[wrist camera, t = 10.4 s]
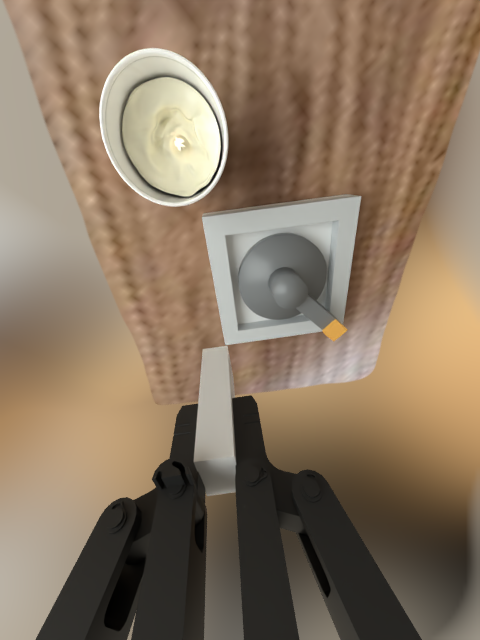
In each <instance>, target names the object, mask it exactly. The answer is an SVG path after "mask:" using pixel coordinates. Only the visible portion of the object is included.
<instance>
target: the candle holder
mask: <svg viewBox="0 0 480 640" xmlns="http://www.w3.org/2000/svg"><path fill="white" fill-rule="evenodd" d="M100 127H101V133H102V138H103V142H104V145H105V148H106V151H107V153H108V155H109V158H110V160H111V162H112V163H113V165H114V167H115V169H116V170H117V172H118V173H119V174H120V176H121V177H122V178H123V180H124V181H125V182H126V183H127V184H128V185H129V186H130V187H131V188H132V189H133V190H134V191H136V192H137V193H138V194H140V195H141V196H143V197H144V198H146V199H148V200H150V201H152V202H154V203H157V204H160V205H164V206H172V207H178V206H185V205H189V204H192V203H195V202H197V201H199V200H200V199H202V198H203V197H205V196H206V195H207V194H208V193H209V192H210V191H211V190H212V189H213V188H214V187H215V185H216V184H217V182H218V181H219V179H220V177H221V175H222V173H223V170H224V167H225V164H226V160H227V155H228V142H229V140H228V127H227V121H226V117H225V113H224V110H223V107H222V104H221V102H220V99H219V97H218V95H217V93H216V91H215V89H214V88H213V86H212V85H211V83H210V82H209V80H208V79H207V78H206V76H205V75H204V74H203V73H202V72H201V71H200V70H199V69H198V68H197V67H196V66H195V65H194V64H193V63H191V62H190V61H189V60H187V59H186V58H184V57H183V56H181V55H179V54H177V53H174V52H172V51H169V50H165V49H159V48H146V49H141V50H138V51H135V52H133V53H131V54H129V55H127V56H126V57H124V58H123V59H122V60H121V61H119V62H118V63H117V64H116V66H115V67H114V68H113V69H112V71H111V72H110V74H109V76H108V78H107V80H106V82H105V85H104V88H103V91H102V95H101V100H100Z"/></svg>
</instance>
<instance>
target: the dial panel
mask: <svg viewBox="0 0 480 640" xmlns="http://www.w3.org/2000/svg"><path fill="white" fill-rule="evenodd" d="M360 201H361V196H357V195H349V194H344V195H336V196H329V197H321V198H314V199H306V200H299V201H291V202H284V203H276V204H269V205H262V206H254V207H247V208H239V209H232V210H224V211H217V212H209V213H203V216H202V220H203V226H204V231H205V237H206V242H207V248H208V253H209V259H210V264H211V270H212V275H213V281H214V286H215V291H216V297H217V302H218V308H219V313H220V319H221V324H222V330H223V335H224V341H225V345H230V344H237V343H244V342H251V341H258V340H265V339H272V338H280V337H287V336H294V335H301V334H308V333H315V332H322V329H321V328H319V327H318V326H317V325H316V324H314V323H313V322H312V321H311V320H310V319H308V318H307V317H306V316H305V315H303V314H302V313H301V314H299V315H297V316H294V317H292V318H288V319H282V320H273V319H267V318H264V317H261V316H259V315H257V314H255V313H254V312H253V311H251V310H250V309H249V308H248V307H247V306H246V304H245V303H244V301H243V299H242V297H241V294H240V290H239V284H238V272H239V268H240V264H241V262H242V260H243V258H244V256H245V254H246V253H247V252H248V250H249V249H250V248H251V247H252V246H253V245H254V244H256V243H257V242H258V241H260V240H261V239H263V238H265V237H267V236H270V235H273V234H277V233H293V234H297V235H300V236H302V237H304V238H306V239H307V240H309V241H310V242H312V243H313V244H314V245H316V246H317V247H318V249H319V250H320V251H321V253H322V254H323V256H324V259H325V261H326V266H327V278H326V283H325V286H324V289H323V291H322V293H321V295H320V296H319V298H318V299H317V301H318V302H319V303H320V304H321V305H322V306H324V307H325V308H326V309H327V310H328V311H329V312H330V313H332V314H333V315H334V316H335V317H336V318H337V319H338V320H339V322H340V323H341V324H342V325H343V321H344V314H345V307H346V300H347V293H348V286H349V279H350V272H351V265H352V258H353V250H354V243H355V236H356V229H357V222H358V215H359V208H360Z"/></svg>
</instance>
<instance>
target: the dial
mask: <svg viewBox="0 0 480 640" xmlns="http://www.w3.org/2000/svg"><path fill="white" fill-rule="evenodd" d="M326 278H327V266H326V261H325V259H324V256H323V254H322V253H321V251H320V250H319V249H318V247H317V246H316V245H314V244H313V243H312V242H310V241H309V240H307V239H306V238H304V237H302V236H300V235H297V234H293V233H277V234H273V235H270V236H267V237H265V238H263V239H261V240H260V241H258V242H257V243H256V244H254V245H253V246H252V247H251V248H250V249H249V250H248V252H247V253H246V254H245V256H244V258H243V260H242V262H241V264H240V268H239V272H238V284H239V290H240V294H241V297H242V299H243V301H244V303H245V304H246V306H247V307H248V308H249V309H250V310H251V311H253V312H254V313H255V314H257V315H259V316H261V317H264V318H267V319H273V320H282V319H288V318H292V317H294V316H297V315H299V314H301V313H302V314H303V315H305V316H306V317H307V318H308V319H310V320H311V321H312V322H313V323H314V324H316V325H317V326H318V327H319V328H321V329H322V331H323V333H324V334H325V335H326V336H328V337H329V338H330V339H331V340H333V341H335V340H336V339H337V338H339V337H340V336H341V335H342V334H344V333H345V332H346V331H347V329H346V327H345V326H343V325H342V324H341V323H340V322H339V320H338V319H337V318H336V317H335V316H334V315H333V314H332V313H330V312H329V311H328V310H327V309H326V308H325V307H324V306H322V305H321V304H320V303H319V302H318V301H317V299H318V298H319V296H320V295H321V293H322V291H323V289H324V286H325V283H326Z"/></svg>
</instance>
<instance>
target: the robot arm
mask: <svg viewBox="0 0 480 640" xmlns="http://www.w3.org/2000/svg"><path fill="white" fill-rule="evenodd" d="M152 480H153V482H154V483H155V485H156V488H155V489H153V490H152V491H150V492H149V493H147V494H145V495H143V496H141V497H139V498H137V499H135V500H132V499H130V498H127V497H126V498H120V499H118V500H116V501H114V502H112V503H111V504H110V505H109V506H108V507H107V508H106V509H105V510H104V512H103V513H102V515H101V516H100V518H99V520H98V522H97V524H96V526H95V527H94V530H93V531H92V533H91V535H90V537H89V539H88V541H87V543H86V545H85V547H84V548H83V550H82V552H81V554H80V556H79V558H78V560H77V562H76V564H75V566H74V567H73V570H72V571H71V573H70V575H69V577H68V579H67V581H66V583H65V585H64V586H63V588H62V590H61V592H60V594H59V596H58V598H57V600H56V602H55V604H54V606H53V607H52V609H51V611H50V613H49V615H48V617H47V619H46V621H45V623H44V625H43V626H42V628H41V630H40V632H39V634H38V636H37V638H36V640H127V637H128V634H129V632H130V628H131V625H132V622H133V619H134V616H135V613H136V616H135V622H134V627H133V633H132V639H131V640H204V614H205V613H204V611H205V577H206V575H205V574H206V537H207V509H206V506H205V491H206V494H207V496H211V495H217V494H224V493H231V492H236V504H237V505H236V506H237V524H238V541H239V559H240V576H241V592H242V593H241V594H242V611H243V629H244V640H299V635H298V629H297V624H296V618H295V612H294V607H293V601H292V596H291V590H290V584H289V578H288V573H287V567H286V561H285V556H284V550H283V545H282V539H281V533H280V528H283V529H286V530H290V531H294V532H296V534H297V537H298V539H299V541H300V544H301V546H302V549H303V551H304V553H305V556H306V558H307V561H308V563H309V565H310V568H311V570H312V572H313V575H314V577H315V580H316V582H317V584H318V587H319V589H320V592H321V594H322V596H323V599H324V601H325V603H326V606H327V608H328V611H329V613H330V615H331V618H332V620H333V623H334V625H335V627H336V630H337V632H338V635H339V637H340V639H341V640H422V639H421V638H420V636H419V634H418V633H417V631H416V629H415V628H414V626H413V624H412V623H411V621H410V619H409V618H408V616H407V614H406V613H405V611H404V609H403V607H402V606H401V604H400V602H399V601H398V599H397V597H396V596H395V594H394V592H393V591H392V589H391V588H390V586H389V584H388V583H387V581H386V579H385V578H384V576H383V574H382V572H381V571H380V569H379V568H378V566H377V564H376V563H375V561H374V559H373V557H372V556H371V554H370V553H369V551H368V549H367V547H366V546H365V544H364V542H363V541H362V539H361V537H360V536H359V534H358V533H357V531H356V529H355V527H354V526H353V524H352V522H351V521H350V519H349V517H348V516H347V514H346V512H345V511H344V509H343V507H342V506H341V504H340V502H339V501H338V499H337V497H336V496H335V494H334V492H333V490H332V489H331V487H330V486H329V484H328V482H327V481H326V480H325V479H324V477H323V476H322V475H320V474H319V473H317V472H315V471H312V470H303V471H300V472H299V473H298V474H294V473H289V472H284V471H282V470H279V469H277V468H276V467H274V466H273V465H272V464H271V463H270V462H269V460H268V458H267V455H266V452H265V446H264V441H263V435H262V429H261V424H260V418H259V412H258V407H257V403H256V402H255V400H254V398H253V397H252V396H244V397H237V398H235V394H234V382H233V374H232V368H231V363H230V357H229V352H228V346H223V347H216V348H209V349H203V353H202V366H201V378H200V390H199V402H198V404H192V405H186V406H182V408H181V410H180V411H179V413H178V414H177V418H176V424H175V430H174V436H173V441H172V448H171V453H170V459H168V460H166V461H164V462H163V463H162V464H160V466H159V467H158V468H157V469H156V471H155V473H154V475H153V478H152ZM136 610H137V611H136Z"/></svg>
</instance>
